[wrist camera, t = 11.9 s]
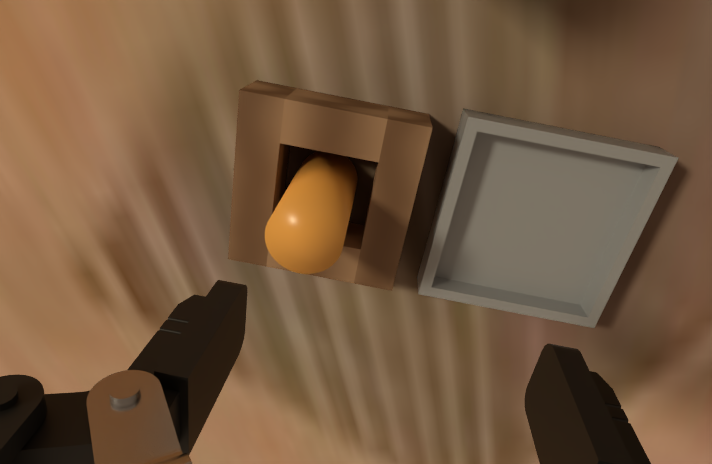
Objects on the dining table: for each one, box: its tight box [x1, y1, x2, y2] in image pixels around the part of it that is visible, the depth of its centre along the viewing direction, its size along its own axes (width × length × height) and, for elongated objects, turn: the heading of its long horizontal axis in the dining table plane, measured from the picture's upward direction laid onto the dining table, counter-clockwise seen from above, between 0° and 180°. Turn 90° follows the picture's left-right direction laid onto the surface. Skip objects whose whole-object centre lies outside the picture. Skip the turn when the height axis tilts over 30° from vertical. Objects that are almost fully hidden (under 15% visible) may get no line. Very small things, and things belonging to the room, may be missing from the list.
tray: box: [417, 109, 678, 328], centre depth 34 cm, size 14×14×2 cm
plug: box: [265, 151, 358, 274], centre depth 31 cm, size 4×4×10 cm
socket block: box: [228, 80, 433, 291], centre depth 34 cm, size 12×12×4 cm
